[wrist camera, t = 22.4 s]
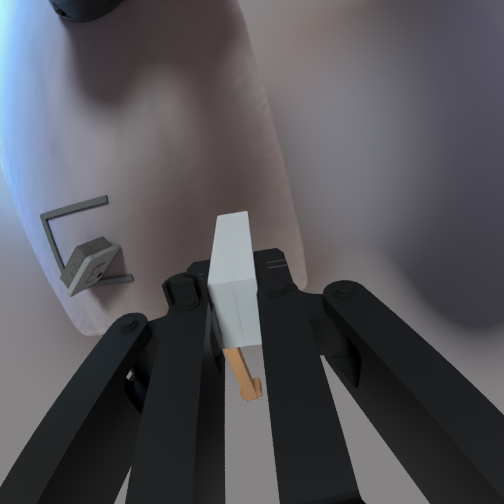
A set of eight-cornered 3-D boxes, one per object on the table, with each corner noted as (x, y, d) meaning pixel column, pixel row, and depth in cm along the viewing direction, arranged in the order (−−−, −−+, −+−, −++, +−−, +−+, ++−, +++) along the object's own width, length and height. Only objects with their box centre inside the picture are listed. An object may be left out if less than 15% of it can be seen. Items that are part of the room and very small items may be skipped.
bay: (41, 214, 47) (39, 215, 46) (106, 195, 46) (105, 196, 46) (69, 288, 53) (68, 290, 53) (133, 278, 53) (132, 280, 53)
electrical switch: (99, 280, 53) (76, 305, 44) (79, 262, 52) (54, 285, 43) (122, 245, 50) (98, 267, 42) (100, 226, 49) (74, 245, 40)
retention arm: (205, 311, 41) (203, 327, 38) (236, 304, 41) (236, 320, 38) (239, 387, 49) (239, 403, 45) (264, 382, 48) (266, 398, 45)
